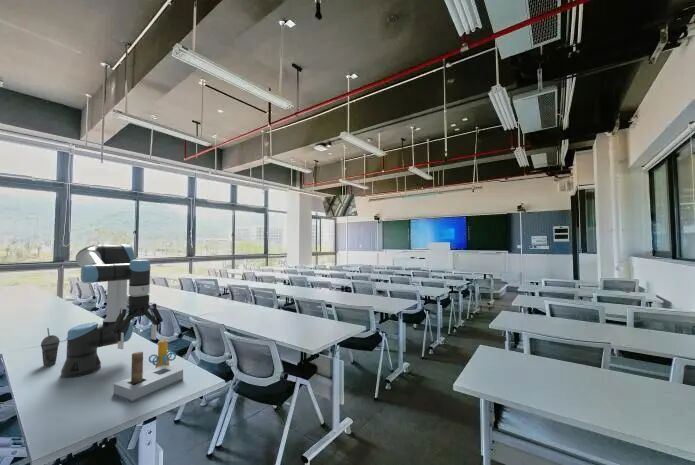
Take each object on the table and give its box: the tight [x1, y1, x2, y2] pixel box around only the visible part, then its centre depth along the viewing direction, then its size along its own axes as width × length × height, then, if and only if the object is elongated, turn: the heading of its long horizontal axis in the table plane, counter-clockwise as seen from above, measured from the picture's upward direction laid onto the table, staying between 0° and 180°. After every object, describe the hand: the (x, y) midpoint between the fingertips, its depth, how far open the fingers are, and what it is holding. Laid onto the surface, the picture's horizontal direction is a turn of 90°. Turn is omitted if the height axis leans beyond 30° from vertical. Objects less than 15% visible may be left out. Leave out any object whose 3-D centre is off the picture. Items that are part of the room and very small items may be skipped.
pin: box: [130, 351, 144, 385], centre depth 128 cm, size 4×4×16 cm
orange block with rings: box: [148, 339, 177, 368], centre depth 152 cm, size 12×10×15 cm
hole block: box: [112, 365, 184, 404], centre depth 133 cm, size 14×22×5 cm, turn 155°
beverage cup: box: [40, 327, 61, 367], centre depth 159 cm, size 7×7×20 cm
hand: (137, 343), depth 129 cm, fingers open, 13 cm apart
